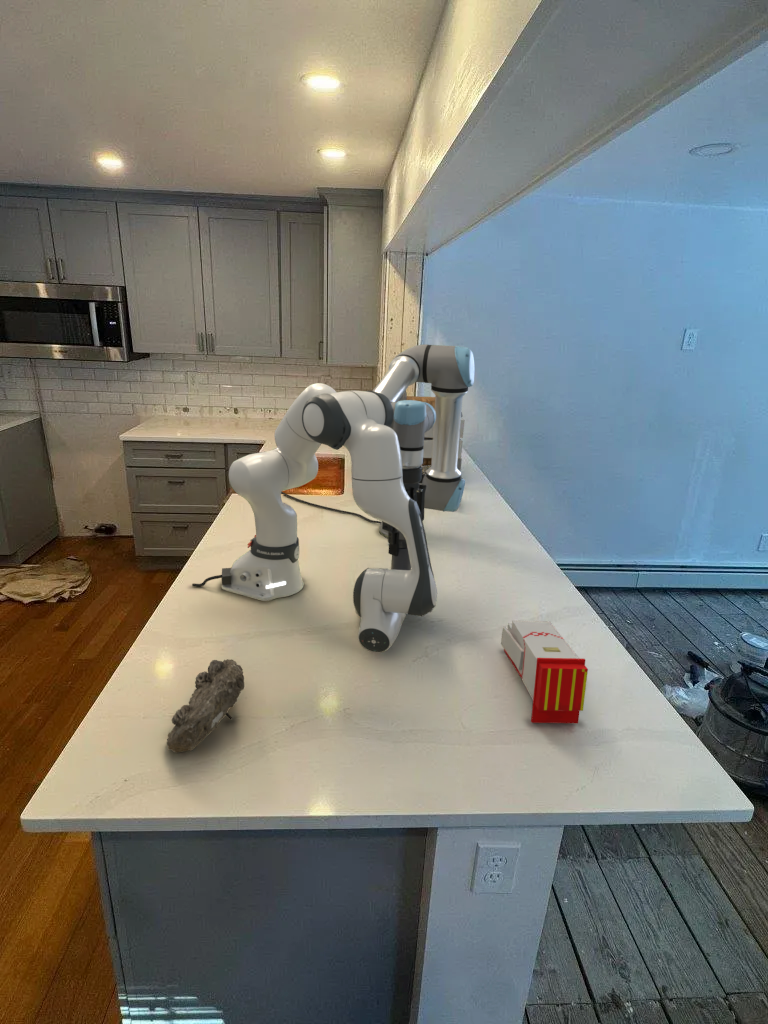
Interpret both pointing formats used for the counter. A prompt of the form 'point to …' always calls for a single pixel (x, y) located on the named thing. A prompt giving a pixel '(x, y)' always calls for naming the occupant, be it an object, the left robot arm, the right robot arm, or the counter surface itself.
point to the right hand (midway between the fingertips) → (402, 550)
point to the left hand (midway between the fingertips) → (400, 582)
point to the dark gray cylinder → (401, 560)
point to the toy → (547, 670)
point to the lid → (402, 540)
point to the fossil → (206, 705)
